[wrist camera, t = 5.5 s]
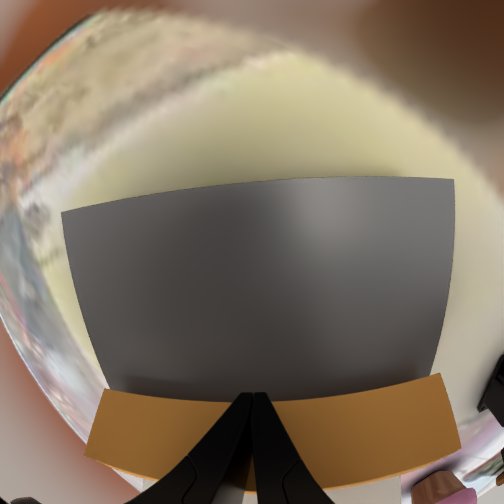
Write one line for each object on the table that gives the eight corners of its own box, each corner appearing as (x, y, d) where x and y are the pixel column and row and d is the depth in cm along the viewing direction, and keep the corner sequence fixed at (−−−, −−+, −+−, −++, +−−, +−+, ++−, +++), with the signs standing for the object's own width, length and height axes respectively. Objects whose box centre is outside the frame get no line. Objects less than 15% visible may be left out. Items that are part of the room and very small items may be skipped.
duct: (402, 180, 12) (454, 179, 7) (360, 461, 17) (369, 500, 12) (116, 203, 13) (60, 212, 9) (191, 465, 18) (180, 503, 14)
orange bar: (439, 372, 8) (461, 448, 5) (412, 406, 10) (424, 466, 7) (104, 388, 9) (84, 455, 7) (139, 417, 11) (126, 473, 9)
